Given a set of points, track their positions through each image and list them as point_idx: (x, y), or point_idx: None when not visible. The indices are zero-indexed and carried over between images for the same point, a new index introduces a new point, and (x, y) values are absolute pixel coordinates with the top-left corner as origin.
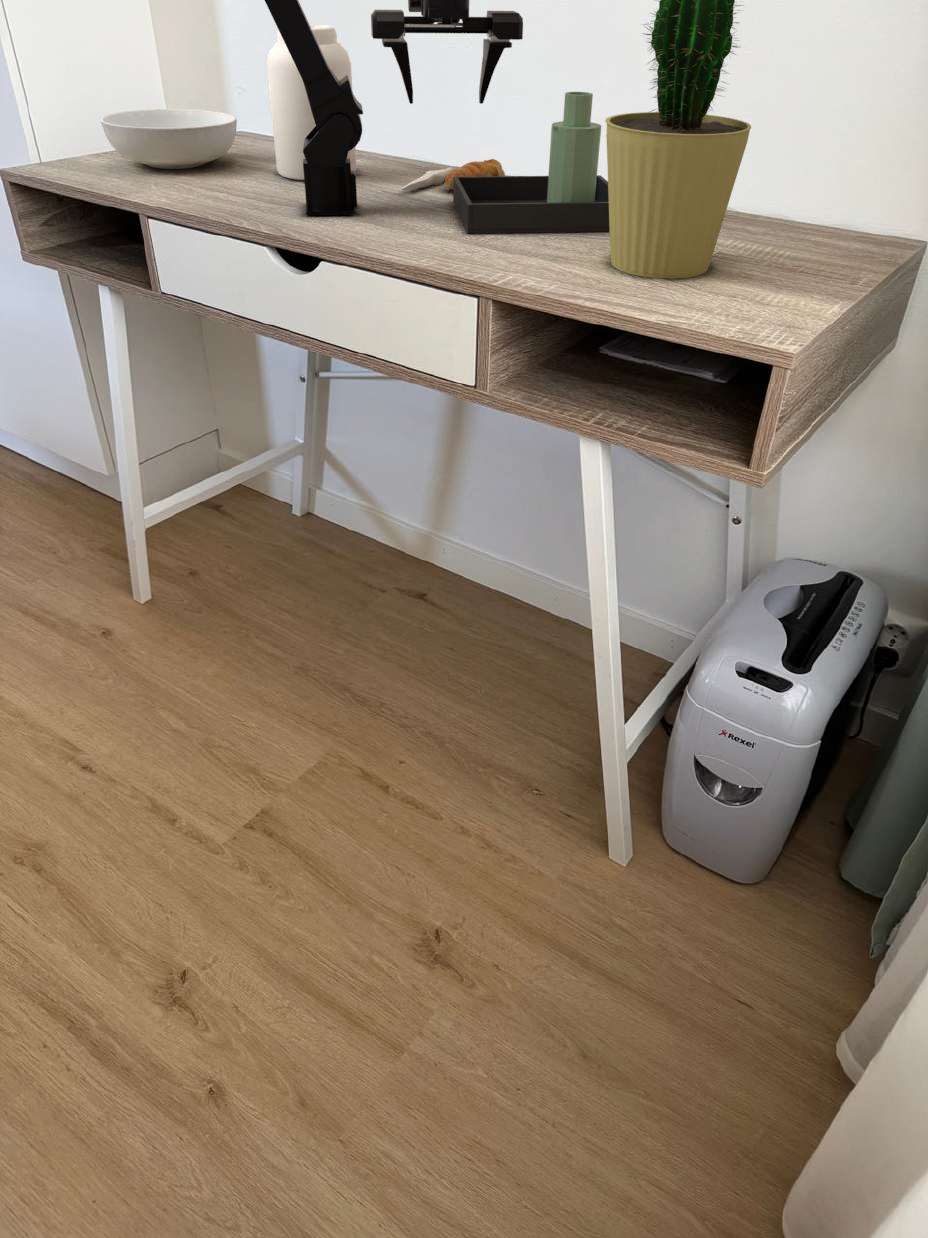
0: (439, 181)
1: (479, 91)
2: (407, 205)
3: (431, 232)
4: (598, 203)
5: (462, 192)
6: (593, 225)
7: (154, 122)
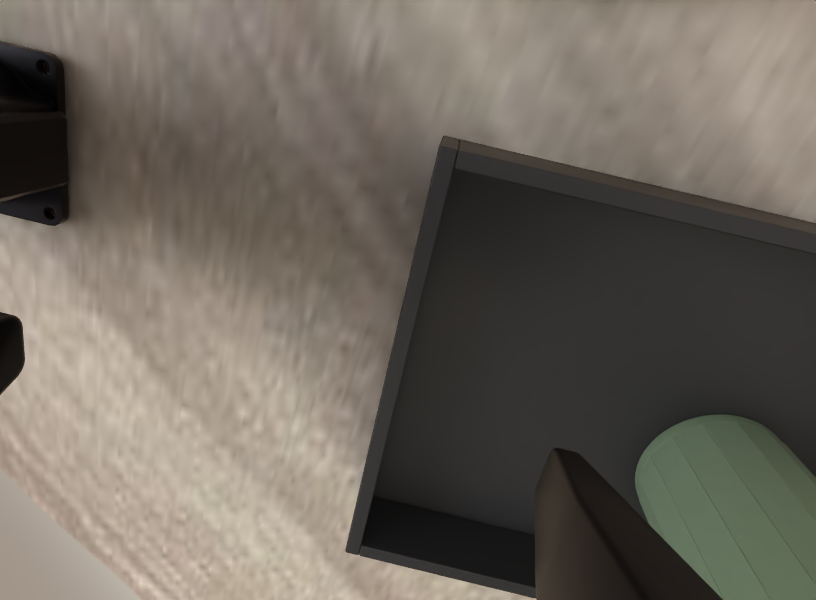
0: None
1: (560, 514)
2: (265, 119)
3: (272, 455)
4: None
5: (378, 421)
6: None
7: None
